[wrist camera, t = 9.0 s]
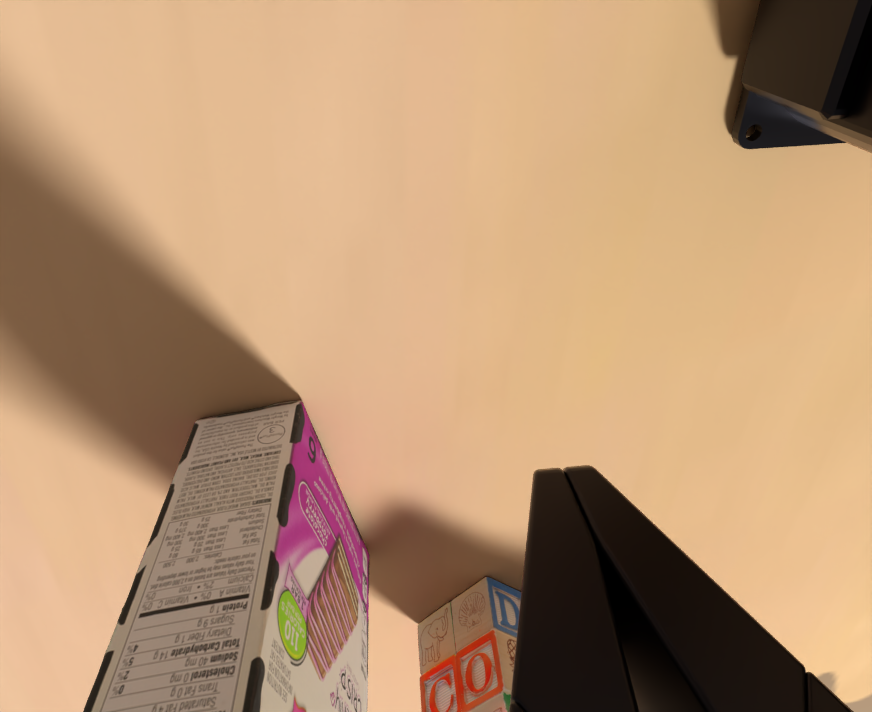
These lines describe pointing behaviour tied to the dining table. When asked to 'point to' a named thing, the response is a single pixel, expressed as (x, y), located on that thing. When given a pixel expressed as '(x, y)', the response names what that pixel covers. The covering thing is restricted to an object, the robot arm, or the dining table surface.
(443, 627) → the stack of blocks
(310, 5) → the dining table surface
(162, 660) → the candy bar box
